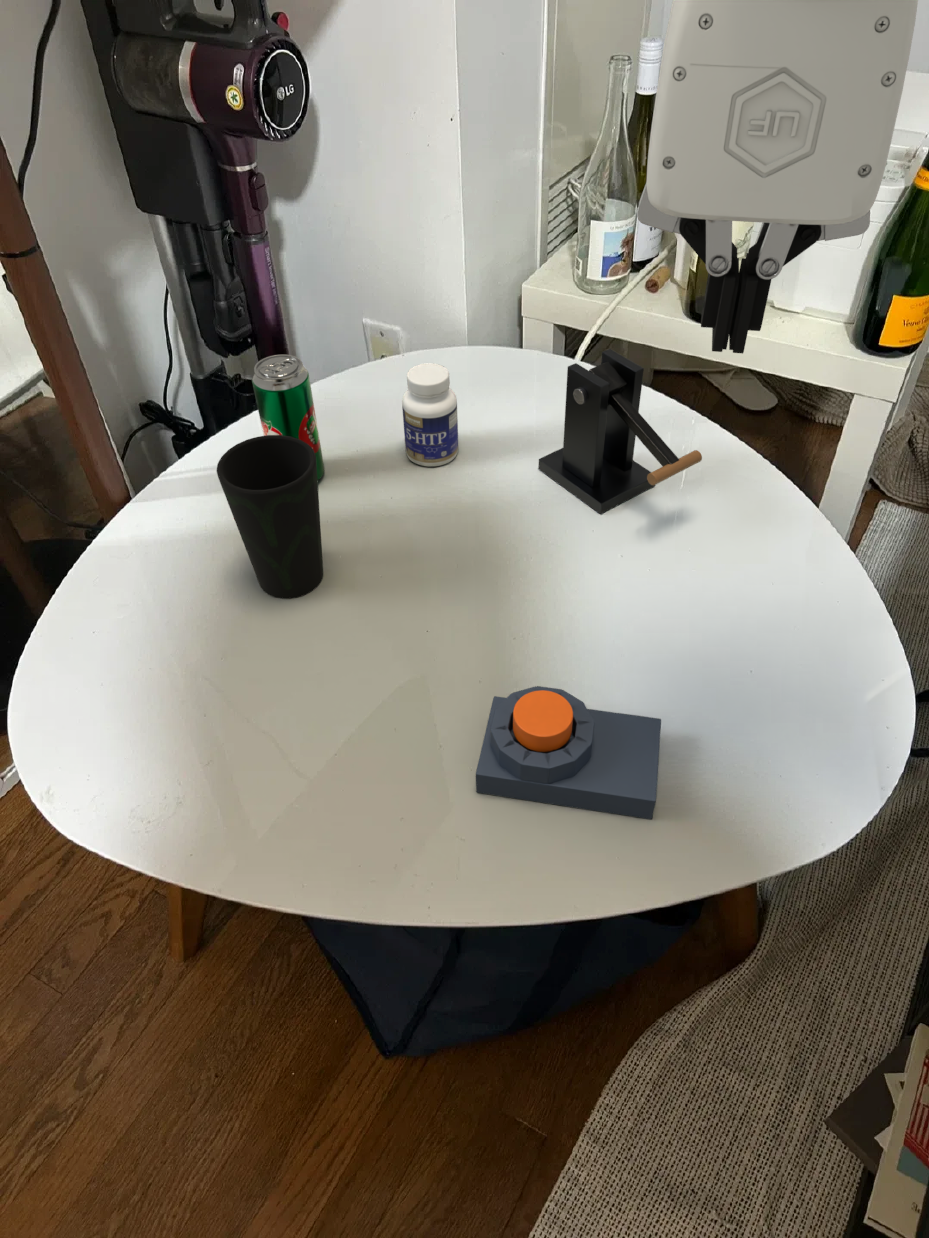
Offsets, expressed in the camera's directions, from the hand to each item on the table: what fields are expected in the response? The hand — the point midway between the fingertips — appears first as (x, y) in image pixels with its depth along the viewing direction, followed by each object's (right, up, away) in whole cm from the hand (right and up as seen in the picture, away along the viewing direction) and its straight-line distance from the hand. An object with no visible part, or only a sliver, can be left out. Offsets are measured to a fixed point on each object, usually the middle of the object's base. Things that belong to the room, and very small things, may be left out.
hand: (727, 339), depth 49 cm
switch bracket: (-1, -1, +40) cm, 40 cm away
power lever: (+1, +2, +33) cm, 33 cm away
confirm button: (-9, -22, +14) cm, 28 cm away
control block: (-6, -25, +16) cm, 31 cm away
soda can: (-30, -1, +42) cm, 51 cm away
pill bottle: (-17, +2, +44) cm, 47 cm away
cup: (-29, -11, +31) cm, 44 cm away
